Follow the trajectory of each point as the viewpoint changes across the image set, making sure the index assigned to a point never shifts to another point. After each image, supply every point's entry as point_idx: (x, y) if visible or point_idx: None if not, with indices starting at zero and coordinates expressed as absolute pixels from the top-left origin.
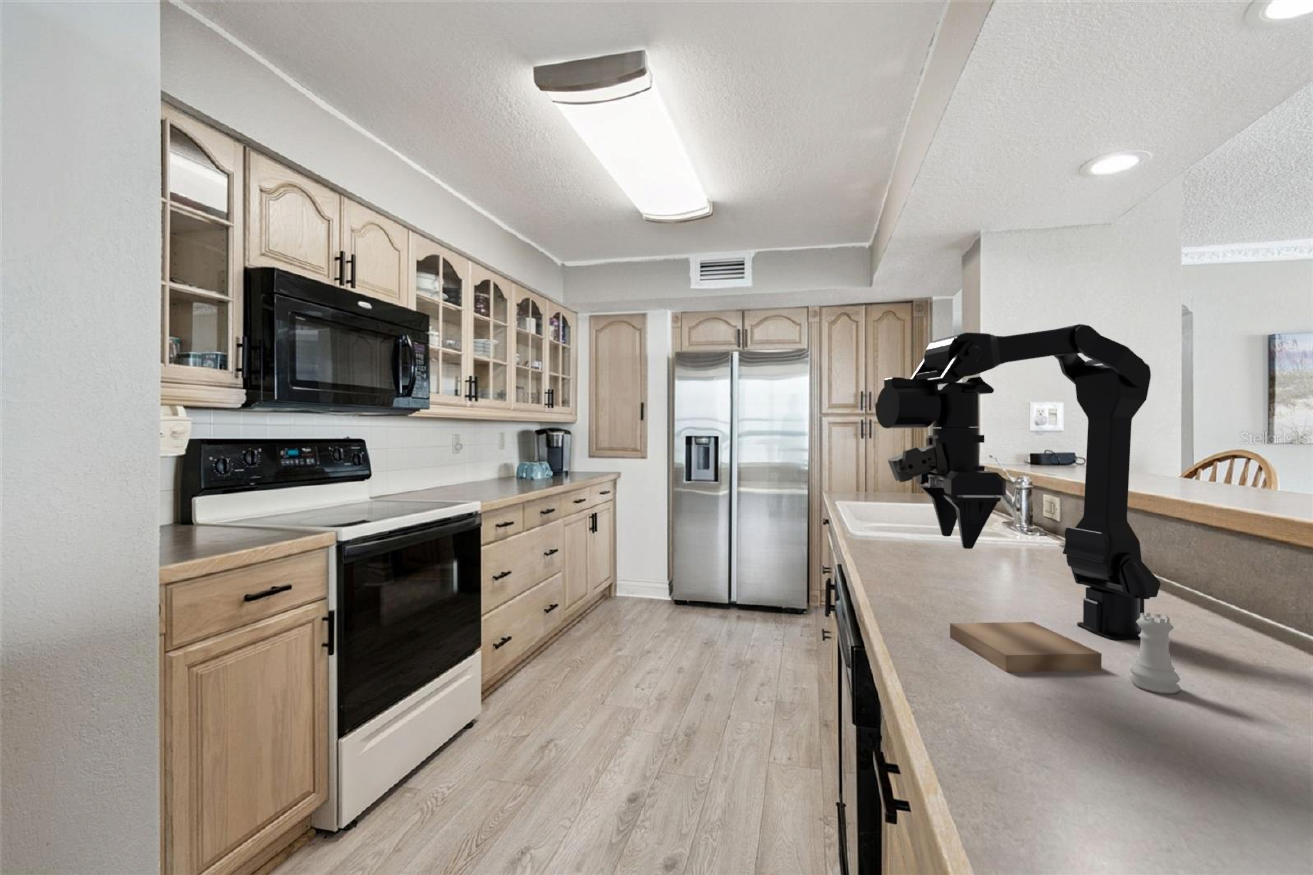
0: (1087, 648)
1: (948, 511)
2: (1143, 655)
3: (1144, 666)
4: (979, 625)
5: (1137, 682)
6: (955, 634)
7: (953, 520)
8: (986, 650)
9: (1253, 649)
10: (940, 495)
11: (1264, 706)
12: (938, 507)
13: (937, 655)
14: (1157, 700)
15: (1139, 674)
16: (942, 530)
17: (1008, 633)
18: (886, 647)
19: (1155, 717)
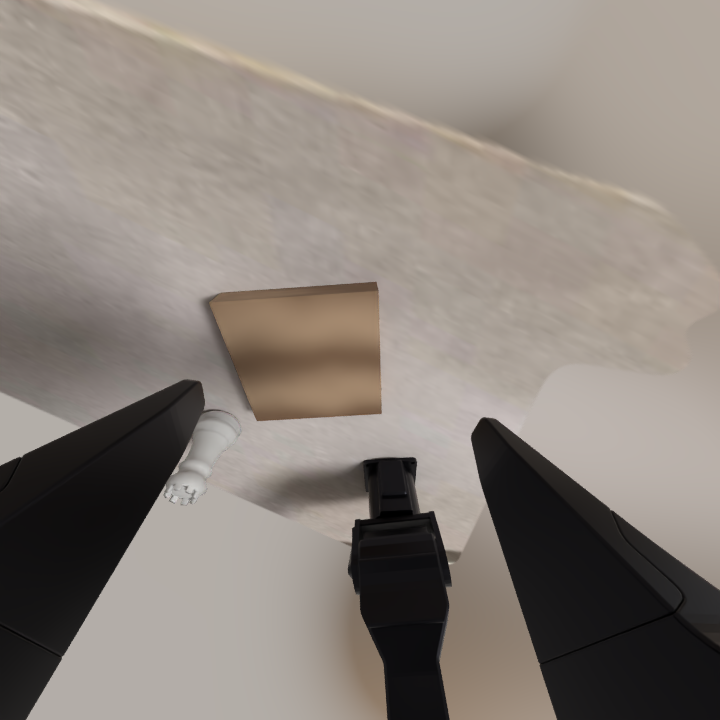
0: (273, 417)
1: (540, 551)
2: (200, 442)
3: (199, 431)
4: (364, 336)
5: (210, 413)
6: (359, 287)
7: (495, 509)
8: (264, 295)
9: (341, 524)
10: (692, 707)
11: None
12: (598, 555)
13: (275, 207)
14: None
15: (203, 420)
16: (494, 433)
17: (324, 359)
18: (309, 90)
19: (125, 380)
